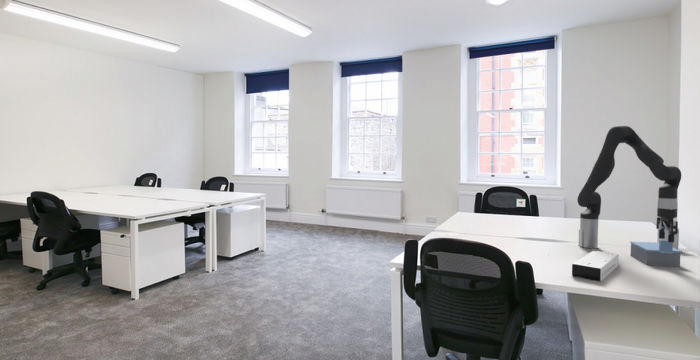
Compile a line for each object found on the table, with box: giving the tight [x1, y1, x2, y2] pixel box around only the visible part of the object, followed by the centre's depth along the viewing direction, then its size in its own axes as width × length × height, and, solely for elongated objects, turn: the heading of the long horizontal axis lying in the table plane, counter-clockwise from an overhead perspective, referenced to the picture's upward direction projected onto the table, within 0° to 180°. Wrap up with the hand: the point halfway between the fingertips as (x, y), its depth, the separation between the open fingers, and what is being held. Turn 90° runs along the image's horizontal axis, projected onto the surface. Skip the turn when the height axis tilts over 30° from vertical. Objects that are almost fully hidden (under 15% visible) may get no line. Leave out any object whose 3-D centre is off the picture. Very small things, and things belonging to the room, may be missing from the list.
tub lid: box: [629, 240, 682, 254], centre depth 197 cm, size 15×21×7 cm
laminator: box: [571, 250, 620, 282], centre depth 184 cm, size 34×12×6 cm, turn 134°
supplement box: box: [656, 228, 680, 250], centre depth 223 cm, size 7×7×13 cm
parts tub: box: [630, 243, 681, 267], centre depth 199 cm, size 14×18×7 cm
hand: (666, 240), depth 187 cm, fingers open, 8 cm apart
